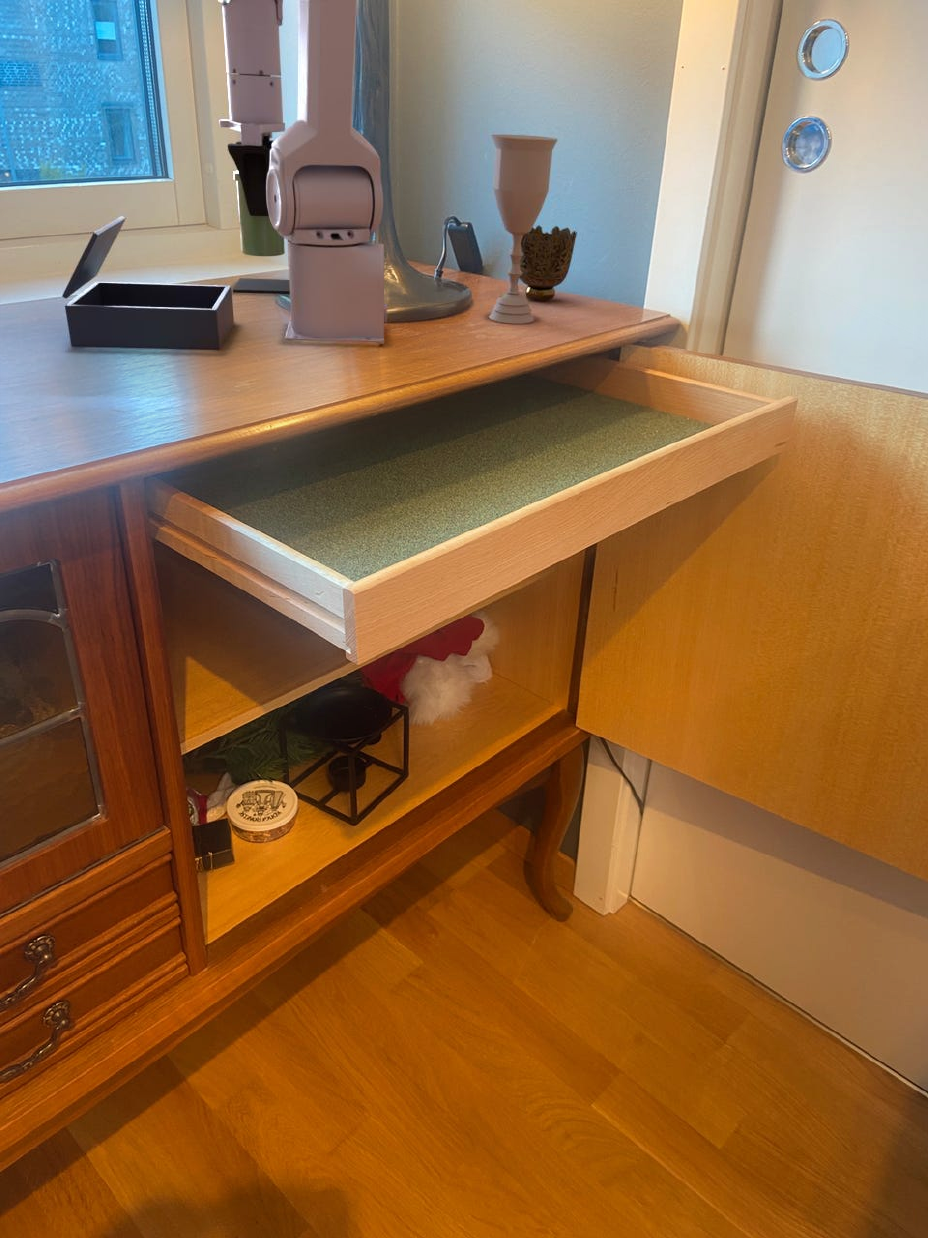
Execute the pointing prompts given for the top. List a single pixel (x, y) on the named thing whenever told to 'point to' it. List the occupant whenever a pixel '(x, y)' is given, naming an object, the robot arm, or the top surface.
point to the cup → (545, 261)
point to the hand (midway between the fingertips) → (262, 212)
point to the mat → (262, 286)
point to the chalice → (519, 207)
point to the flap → (94, 256)
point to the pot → (256, 230)
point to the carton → (151, 316)
